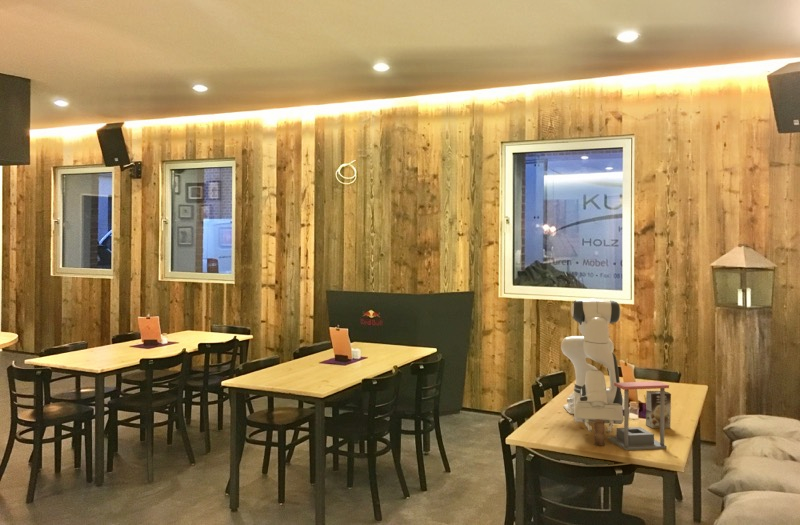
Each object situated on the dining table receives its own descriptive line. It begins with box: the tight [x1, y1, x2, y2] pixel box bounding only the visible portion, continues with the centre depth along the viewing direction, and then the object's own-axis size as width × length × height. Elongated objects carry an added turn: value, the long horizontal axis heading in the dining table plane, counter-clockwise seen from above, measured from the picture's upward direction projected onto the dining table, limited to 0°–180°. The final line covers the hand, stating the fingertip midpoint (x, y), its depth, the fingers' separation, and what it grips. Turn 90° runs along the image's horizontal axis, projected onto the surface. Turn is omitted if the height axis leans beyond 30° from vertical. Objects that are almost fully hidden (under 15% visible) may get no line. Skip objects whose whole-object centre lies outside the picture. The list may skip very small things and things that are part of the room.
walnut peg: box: [594, 420, 606, 447], centre depth 259 cm, size 4×4×10 cm
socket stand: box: [607, 380, 670, 451], centre depth 260 cm, size 16×20×26 cm
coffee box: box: [645, 390, 672, 429], centre depth 286 cm, size 9×6×16 cm
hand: (599, 431), depth 258 cm, fingers open, 6 cm apart
